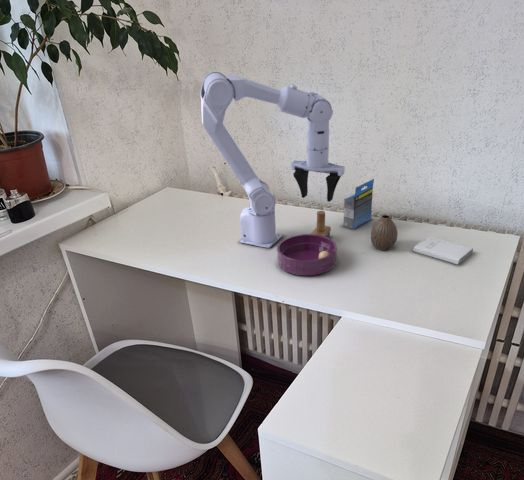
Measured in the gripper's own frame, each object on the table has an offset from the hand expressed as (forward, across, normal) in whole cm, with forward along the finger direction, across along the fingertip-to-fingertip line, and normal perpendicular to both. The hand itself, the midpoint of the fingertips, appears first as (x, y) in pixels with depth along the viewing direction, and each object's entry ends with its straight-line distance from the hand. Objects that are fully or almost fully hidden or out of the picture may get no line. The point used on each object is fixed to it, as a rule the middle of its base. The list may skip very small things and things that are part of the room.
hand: (317, 198), depth 140 cm
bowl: (+10, -5, +17) cm, 21 cm away
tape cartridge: (+11, -8, -11) cm, 17 cm away
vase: (+11, -20, +1) cm, 23 cm away
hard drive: (+11, -35, -2) cm, 37 cm away
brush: (+10, -3, +4) cm, 12 cm away
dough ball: (+8, -9, +16) cm, 20 cm away
